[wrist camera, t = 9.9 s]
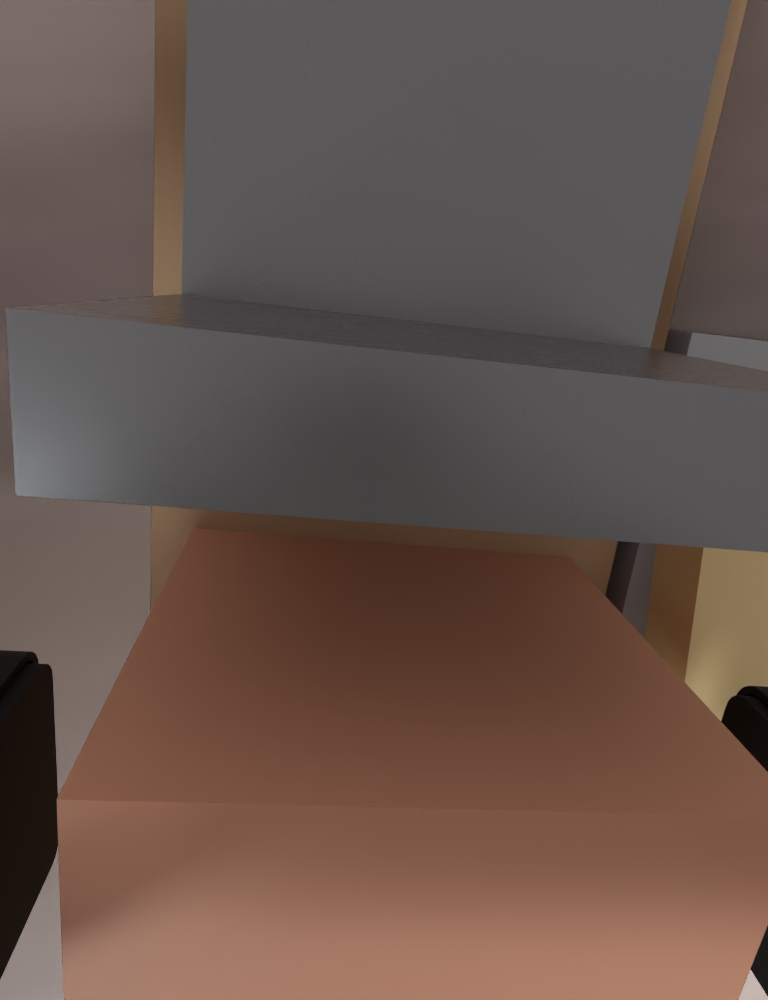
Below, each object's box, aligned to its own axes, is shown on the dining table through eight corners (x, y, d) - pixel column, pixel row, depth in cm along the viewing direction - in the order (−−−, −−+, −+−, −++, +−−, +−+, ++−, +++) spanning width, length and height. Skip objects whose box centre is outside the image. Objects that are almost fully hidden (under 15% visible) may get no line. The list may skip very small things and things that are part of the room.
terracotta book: (193, 527, 11) (55, 799, 5) (569, 557, 12) (809, 818, 6) (185, 732, 12) (69, 1135, 6) (527, 745, 13) (694, 1111, 7)
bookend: (618, 418, 11) (945, 565, 5) (186, 375, 10) (15, 495, 4) (715, -8, 9) (1372, -485, 3) (197, -108, 8) (-71, -975, 3)
